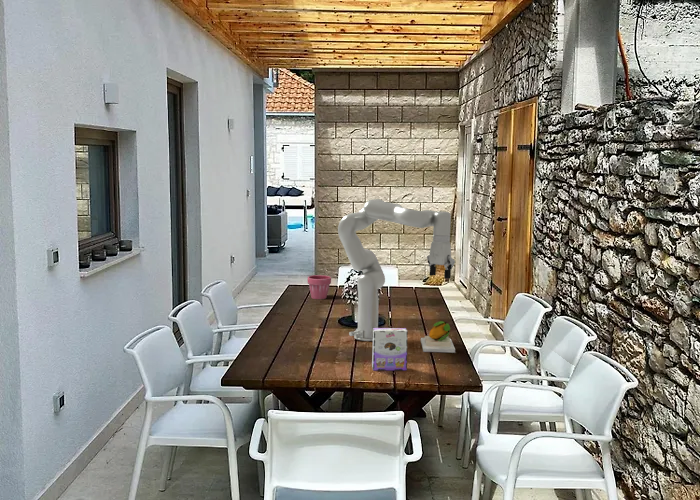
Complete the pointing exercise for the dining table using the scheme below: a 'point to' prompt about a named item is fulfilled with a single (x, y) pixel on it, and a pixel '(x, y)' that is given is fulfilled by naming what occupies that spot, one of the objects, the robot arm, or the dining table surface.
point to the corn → (439, 330)
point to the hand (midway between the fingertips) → (439, 276)
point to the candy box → (389, 349)
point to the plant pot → (319, 286)
